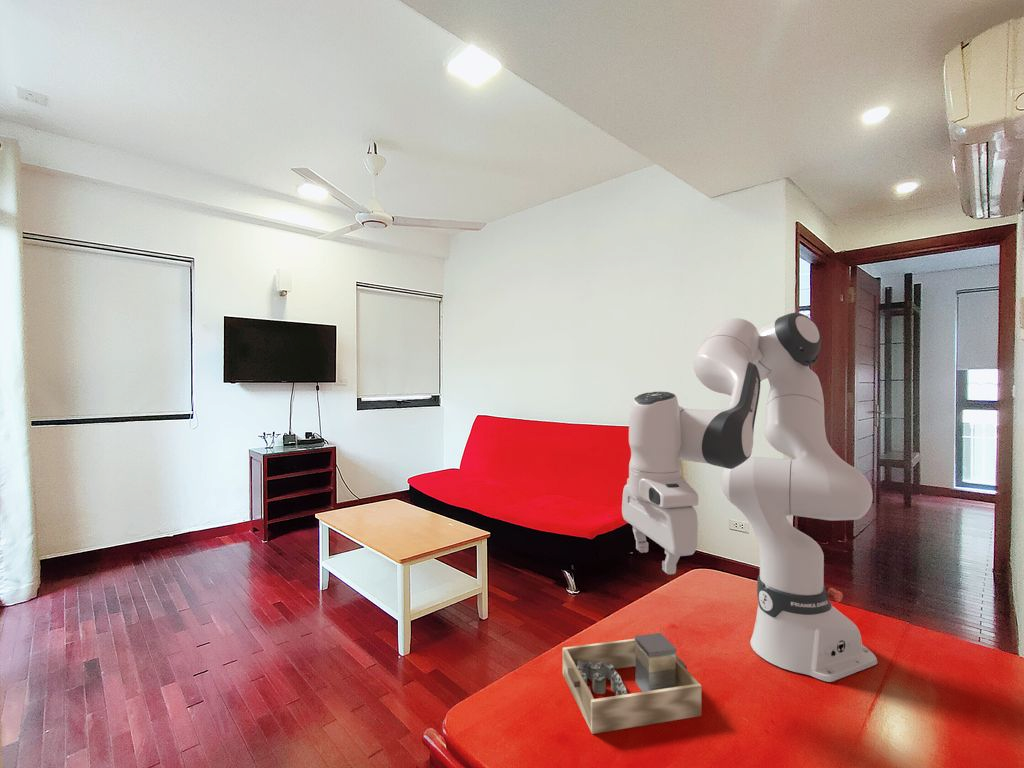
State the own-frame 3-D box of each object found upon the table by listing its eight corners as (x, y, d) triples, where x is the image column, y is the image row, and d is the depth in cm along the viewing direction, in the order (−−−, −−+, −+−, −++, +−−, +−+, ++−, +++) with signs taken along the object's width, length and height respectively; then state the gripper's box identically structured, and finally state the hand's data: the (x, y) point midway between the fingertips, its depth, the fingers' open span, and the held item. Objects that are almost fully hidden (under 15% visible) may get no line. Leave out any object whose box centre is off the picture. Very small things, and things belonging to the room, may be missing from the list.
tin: (634, 682, 85) (634, 636, 85) (660, 678, 86) (660, 632, 86) (648, 701, 80) (648, 652, 80) (676, 697, 81) (676, 648, 81)
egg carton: (630, 720, 76) (630, 696, 76) (583, 720, 76) (584, 695, 76) (615, 678, 87) (616, 656, 87) (575, 677, 87) (575, 656, 87)
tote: (659, 660, 91) (659, 635, 91) (706, 715, 77) (706, 684, 77) (558, 674, 87) (558, 648, 87) (586, 734, 73) (586, 703, 72)
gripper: (613, 472, 92) (614, 541, 92) (668, 500, 72) (668, 589, 72) (643, 470, 93) (643, 539, 94) (705, 498, 73) (705, 584, 74)
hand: (654, 561), depth 83 cm, fingers open, 8 cm apart
